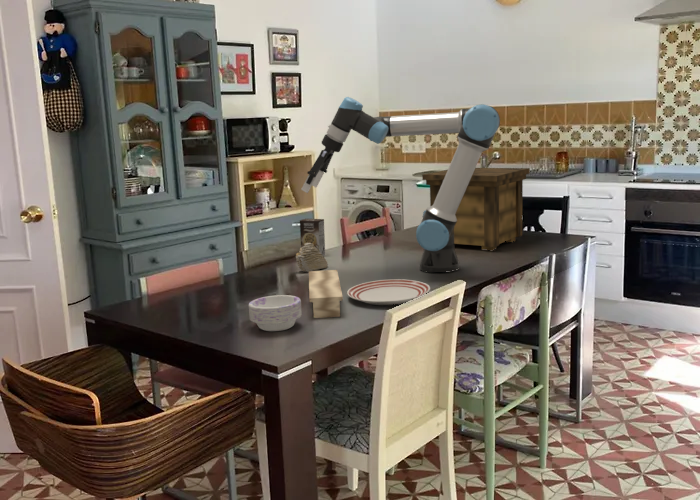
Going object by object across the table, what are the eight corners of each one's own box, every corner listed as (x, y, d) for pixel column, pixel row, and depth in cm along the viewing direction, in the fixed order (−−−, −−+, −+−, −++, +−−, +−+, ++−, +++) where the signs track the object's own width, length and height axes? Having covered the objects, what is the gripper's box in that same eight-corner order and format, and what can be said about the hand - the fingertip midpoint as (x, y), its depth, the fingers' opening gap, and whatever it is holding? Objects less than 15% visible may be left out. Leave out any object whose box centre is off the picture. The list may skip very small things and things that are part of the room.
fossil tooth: (330, 271, 278) (301, 274, 267) (320, 268, 282) (291, 271, 272) (332, 242, 276) (302, 245, 266) (322, 240, 280) (292, 242, 270)
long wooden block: (337, 286, 246) (337, 269, 245) (343, 316, 210) (342, 296, 209) (309, 288, 246) (308, 271, 245) (310, 318, 210) (309, 298, 208)
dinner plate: (368, 314, 212) (368, 304, 211) (334, 295, 236) (334, 285, 236) (446, 301, 222) (446, 291, 222) (405, 284, 247) (405, 275, 246)
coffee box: (300, 257, 301) (298, 220, 298) (307, 254, 307) (305, 218, 304) (320, 257, 298) (318, 220, 295) (326, 254, 304) (324, 218, 300)
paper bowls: (254, 320, 211) (253, 294, 209) (304, 318, 210) (303, 293, 208) (246, 336, 196) (243, 308, 194) (299, 334, 195) (298, 307, 194)
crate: (497, 254, 289) (497, 175, 283) (424, 247, 309) (422, 174, 303) (529, 239, 317) (529, 168, 311) (460, 234, 337) (459, 167, 331)
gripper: (333, 130, 265) (308, 179, 271) (318, 135, 241) (291, 188, 247) (350, 140, 265) (324, 188, 271) (336, 146, 241) (309, 198, 247)
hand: (308, 188), depth 259 cm, fingers open, 13 cm apart
